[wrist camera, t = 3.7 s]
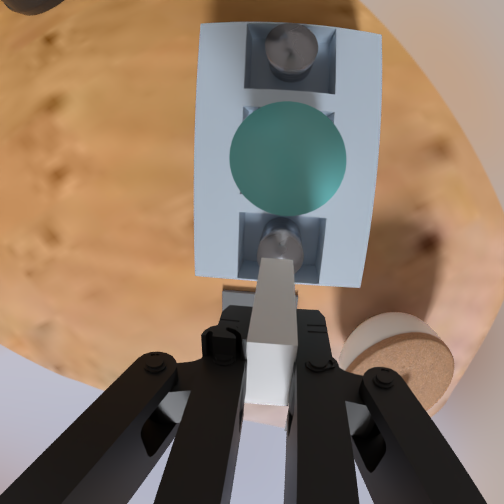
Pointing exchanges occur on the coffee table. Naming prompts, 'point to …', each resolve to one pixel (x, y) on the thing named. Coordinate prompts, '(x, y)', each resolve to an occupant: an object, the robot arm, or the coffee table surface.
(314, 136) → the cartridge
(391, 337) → the lidded jar
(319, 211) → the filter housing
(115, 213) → the coffee table surface
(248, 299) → the mat
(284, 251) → the plunger far
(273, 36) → the plunger near
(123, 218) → the coffee table surface
